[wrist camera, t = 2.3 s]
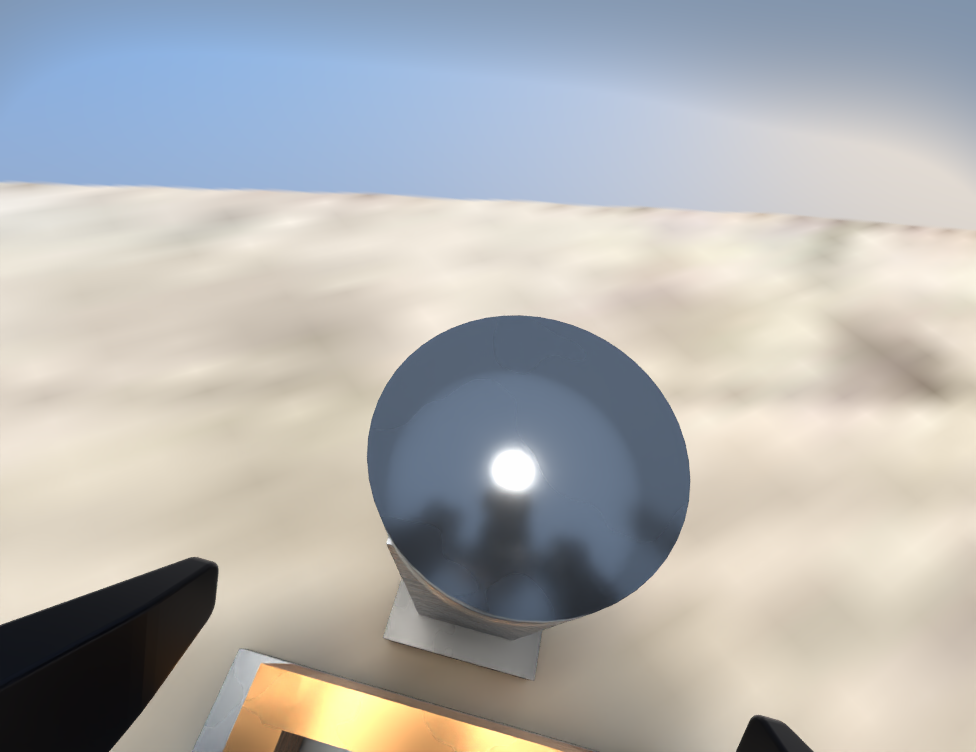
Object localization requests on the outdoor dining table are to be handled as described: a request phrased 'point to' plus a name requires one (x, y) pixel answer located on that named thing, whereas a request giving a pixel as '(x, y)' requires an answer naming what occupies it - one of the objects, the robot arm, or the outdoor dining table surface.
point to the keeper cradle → (344, 717)
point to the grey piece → (520, 486)
